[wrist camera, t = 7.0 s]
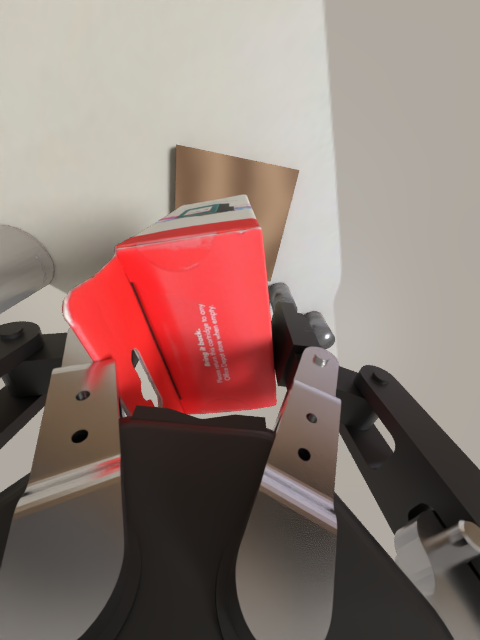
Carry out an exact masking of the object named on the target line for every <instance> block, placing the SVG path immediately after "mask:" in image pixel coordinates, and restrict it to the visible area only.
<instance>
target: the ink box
mask: <svg viewBox="0 0 480 640" xmlns="http://www.w3.org/2000/svg"><path fill="white" fill-rule="evenodd" d="M62 313H63V316H64V319H65V320H66V322H67V323H68V324H69V325H70V327H71V328H72V330H73V331H74V333H75V335H76V336H77V338H78V339H79V341H80V342H81V344H82V346H83V347H84V349H85V350H86V352H87V353H88V355H89V356H90V358H91V359H92V361H93V362H97V361H103V360H109V359H115V360H116V364H117V373H118V381H119V389H120V397H121V404H122V409H123V410H124V412H125V413H126V415H127V416H132V415H133V412H134V410H135V408H136V405H139V406H150V407H154V405H153V402H152V401H151V400H148V401H146V400H145V399H144V398H143V396H142V392H141V380H140V378H139V376H138V374H137V372H136V370H135V369H134V367H133V365H132V361H131V355H132V350H134V352H135V353H136V355H137V357H138V359H139V360H140V363H141V365H142V367H143V369H144V370H145V372H146V374H147V376H148V379H149V381H150V382H151V384H152V387H153V389H154V391H155V393H156V395H157V398H158V407H160V408H170V409H173V410H176V411H178V412H181V413H184V414H206V413H219V412H231V411H241V410H251V409H258V408H264V407H270V406H274V405H276V402H277V400H276V380H275V367H274V353H273V340H272V328H271V315H270V303H269V293H268V282H267V271H266V260H265V252H264V244H263V235H262V229H261V227H260V226H259V223H258V221H257V219H256V217H255V215H254V212H253V210H252V207H251V205H250V203H249V200H248V198H247V195H244V194H243V195H237V196H232V197H227V198H221V199H216V200H211V201H206V202H200V203H194V204H188V205H183V206H181V207H179V208H177V209H176V210H175V211H173V212H172V213H170V214H169V215H167V216H166V217H164V218H162V219H160V220H159V221H158V222H156V223H155V224H153V225H152V226H150V227H148V228H147V229H145V230H143V231H142V232H140V233H138V234H137V235H135V236H133V237H131V238H129V239H127V240H125V241H124V242H122V243H120V244H118V245H116V246H115V250H114V256H113V258H112V259H111V260H110V261H109V262H108V263H107V264H106V265H104V267H103V268H102V269H101V270H99V271H98V272H97V273H95V274H94V275H93V276H91V277H90V278H89V279H87V280H86V281H84V282H83V283H81V284H79V285H78V286H76V287H75V288H73V289H72V290H70V291H69V292H68V294H67V296H66V298H65V299H64V300H63V306H62Z"/></svg>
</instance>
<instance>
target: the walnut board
mask: <svg viewBox="0 0 480 640" xmlns="http://www.w3.org/2000/svg"><path fill="white" fill-rule="evenodd" d="M298 173H299V170H296V169H291V168H286V167H281V166H276V165H272V164H267V163H262V162H257V161H252V160H248V159H243V158H238V157H233V156H228V155H224V154H219V153H214V152H209V151H204V150H200V149H195V148H190V147H185V146H180V145H176V188H175V210H176V209H177V208H179V207H181V206H183V205H188V204H194V203H200V202H206V201H211V200H216V199H221V198H227V197H232V196H237V195H243V194H244V195H247V198H248V200H249V203H250V205H251V207H252V210H253V212H254V215H255V217H256V219H257V221H258V223H259V226H260V227H261V229H262V235H263V244H264V252H265V260H266V271H267V281H271V277H272V273H273V270H274V266H275V262H276V258H277V254H278V250H279V247H280V243H281V239H282V235H283V231H284V227H285V223H286V220H287V216H288V212H289V208H290V204H291V200H292V197H293V193H294V189H295V185H296V181H297V177H298Z"/></svg>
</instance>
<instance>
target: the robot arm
mask: <svg viewBox="0 0 480 640" xmlns="http://www.w3.org/2000/svg"><path fill="white" fill-rule="evenodd" d="M53 276H54V267H53V263H52V260H51V258H50V256H49V254H48V253H47V251H46V250H45V249H44V247H43V246H42V245H41V244H40V243H39V242H38V241H37V240H36V239H34V238H33V237H32V236H30V235H29V234H27V233H25V232H24V231H22V230H20V229H17V228H14V227H11V226H5V225H0V314H1V313H2V312H4V311H6V310H7V309H9V308H11V307H12V306H14V305H15V304H17V303H19V302H20V301H22V300H24V299H25V298H27V297H29V296H30V295H32V294H33V293H35V292H37V291H38V290H40V289H42V288H43V287H45V286H46V285H48V284H49V283H50V282H51V281H52V278H53ZM271 328H272V340H273V353H274V367H275V373H276V378H277V384H278V386H284V387H287V392H286V395H285V398H284V400H283V403H282V406H281V408H280V411H279V414H278V417H277V420H276V422H275V425H274V428H273V431H272V430H270V429H267V428H266V422H265V418H264V417H254V416H243V415H229V416H222V417H215V418H208V419H199V418H196V417H193V416H190V415H187V414H184V413H181V412H178V411H176V410H173V409H170V408H160V407H150V406H139V405H136V408H135V410H134V412H133V415H132V416H127V417H125V415H124V410H123V409H122V404H121V397H120V389H119V381H118V373H117V364H116V360H115V359H109V360H103V361H97V362H93V361H92V359H91V358H90V356H89V355H88V353H87V352H86V350H85V349H84V347H83V346H82V344H81V342H80V341H79V339H78V338H77V336H76V335H75V333H74V331H73V330H72V328H71V327H70V328H69V330H68V333H56V334H42V333H41V330H40V327H39V326H38V325H37V324H35V323H32V322H12V323H7V324H3V325H0V378H2V379H3V381H4V383H5V385H6V386H5V387H3V388H2V389H1V390H0V449H1V448H2V447H3V446H4V445H5V444H6V443H7V442H8V441H9V440H10V439H11V438H12V437H13V436H14V435H15V434H16V433H17V432H18V431H19V430H20V429H21V428H23V427H24V426H25V425H26V424H27V423H28V422H29V420H31V418H33V417H34V416H35V415H36V414H37V413H38V412H39V411H40V410H41V409H42V408H43V407H44V406H45V407H44V412H43V417H42V421H41V426H40V431H39V436H38V440H37V445H36V450H35V454H34V459H33V464H32V468H31V472H30V473H29V474H27V475H26V476H24V477H23V478H21V479H20V480H18V481H17V482H16V483H14V484H13V485H11V486H10V487H8V488H7V489H5V490H4V491H2V492H1V493H0V640H480V470H479V469H478V467H477V466H476V465H475V464H474V463H473V462H472V461H471V460H470V459H469V458H468V457H467V456H466V454H465V453H464V452H463V451H462V450H461V449H460V448H459V447H458V446H457V445H456V444H455V443H454V442H453V440H452V439H451V438H450V437H449V436H448V435H447V434H446V433H445V432H444V431H443V430H442V429H441V427H440V426H439V425H438V424H437V423H436V422H435V421H434V420H433V419H432V418H431V417H430V416H429V415H428V413H427V412H426V411H425V410H424V409H423V408H422V407H421V406H420V405H419V404H418V403H417V402H416V400H415V399H414V398H413V397H412V396H411V395H410V394H409V393H408V392H407V391H406V390H405V388H404V387H403V386H402V385H401V384H400V383H399V382H398V381H397V380H396V379H395V378H394V377H393V376H392V375H391V374H390V373H388V372H387V371H385V370H383V369H381V368H379V367H376V366H371V365H366V366H363V367H362V368H361V370H360V371H359V373H357V372H354V371H351V370H348V369H346V368H343V367H340V366H339V363H338V360H337V358H336V357H335V356H334V355H333V354H332V353H330V352H329V351H327V350H325V349H323V348H321V346H320V344H319V342H318V340H317V338H316V335H315V333H313V332H314V331H313V329H312V327H311V325H310V323H309V321H308V319H307V318H306V317H305V316H304V315H303V314H301V313H297V311H296V308H295V306H294V304H293V303H291V302H284V301H278V302H277V304H276V307H275V310H274V314H273V317H272V321H271ZM131 361H132V365H133V367H134V369H135V367H136V364H137V363H138V361H139V359H138V357H137V355H136V353H135V352H134V350H132V355H131ZM378 417H379V418H380V420H381V421H382V423H383V424H384V425H385V427H386V428H387V430H388V431H389V432H390V434H391V435H392V437H393V439H394V441H395V451H394V453H393V451H392V450H391V448H390V447H389V445H388V444H387V442H386V441H385V439H384V438H383V436H382V435H381V434H380V432H379V431H378V429H377V428H376V427H375V425H374V422H375V421H376V420H377V419H378ZM339 433H340V435H341V436H342V438H343V440H344V442H345V444H346V446H347V448H348V449H349V451H350V453H351V455H352V457H353V459H354V461H355V463H356V464H357V466H358V468H359V470H360V472H361V474H362V476H363V477H364V479H365V481H366V483H367V485H368V487H369V489H370V490H371V492H372V494H373V496H374V498H375V500H376V502H377V503H378V505H379V507H380V509H381V511H382V513H383V515H384V516H385V518H386V520H387V522H388V524H389V526H390V528H391V530H392V532H393V533H394V535H395V539H394V542H395V549H396V553H397V555H396V557H395V562H394V561H393V559H392V558H391V557H390V556H389V555H388V554H387V552H386V551H385V550H384V549H383V548H382V547H381V545H380V544H379V543H378V542H377V541H376V540H375V538H374V537H373V536H372V535H371V534H370V533H369V531H368V530H367V529H366V528H365V527H364V526H363V525H362V523H361V522H360V521H359V520H358V519H357V517H356V516H355V515H354V514H353V513H352V512H351V510H350V509H349V508H348V507H347V506H346V505H345V503H344V502H343V501H342V500H341V499H340V498H339V496H338V495H337V494H336V493H335V492H334V487H335V475H336V462H337V450H338V437H339Z"/></svg>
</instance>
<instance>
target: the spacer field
mask: <svg viewBox="0 0 480 640" xmlns="http://www.w3.org/2000/svg"><path fill="white" fill-rule="evenodd" d="M269 297H270V301H271V305H272V309H273V313H274V310H275V307H276V304H277V302H278V301H284V302H291V303H293V304H294V306H295V308H296V311H297V307H296V304H295V302H294V300H293V297H292V295H291V293H290V290H289V288H288V286H287V285H286V284H284V283H275V284H273V285H272V286H271V287H270V289H269ZM305 317H306V318H307V319H308V321H309V323H310V325H311V327H312V329H313V331H314V332H313V333H315V335H316V338H317V340H318V342H319V344H320V346H321V348H323V349H327V348H329V347H331V346H332V345H333V344H334V342H335V337H334V335H333V334H332V332H331V330H330V328H329V327H328V325H327V323H326V321H325V320H324V318H323V316H322V314H321V313H319V312H317V311H312V312H309V313H307V314H306V315H305Z"/></svg>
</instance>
